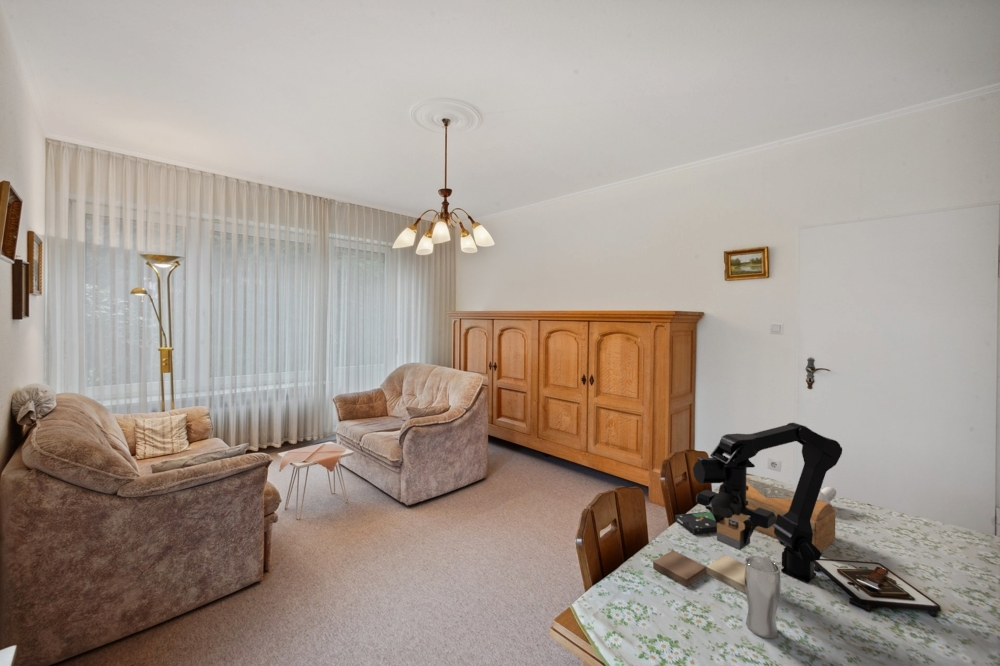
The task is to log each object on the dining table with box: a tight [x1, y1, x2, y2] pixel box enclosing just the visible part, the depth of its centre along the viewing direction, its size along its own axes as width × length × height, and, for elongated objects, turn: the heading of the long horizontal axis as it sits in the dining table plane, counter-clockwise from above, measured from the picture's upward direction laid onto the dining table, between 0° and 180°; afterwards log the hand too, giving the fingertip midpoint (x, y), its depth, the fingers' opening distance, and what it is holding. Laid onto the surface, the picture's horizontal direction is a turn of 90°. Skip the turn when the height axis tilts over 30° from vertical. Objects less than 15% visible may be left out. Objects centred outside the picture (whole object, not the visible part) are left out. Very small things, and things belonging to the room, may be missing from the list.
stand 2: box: [705, 554, 746, 594], centre depth 112 cm, size 10×10×2 cm
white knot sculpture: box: [817, 486, 837, 505], centre depth 153 cm, size 11×12×9 cm
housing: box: [716, 518, 751, 551], centre depth 111 cm, size 6×6×6 cm
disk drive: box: [674, 511, 717, 536], centre depth 140 cm, size 10×3×15 cm
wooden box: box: [718, 477, 837, 553], centre depth 138 cm, size 30×16×14 cm, turn 31°
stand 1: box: [652, 549, 707, 588], centre depth 114 cm, size 10×10×2 cm
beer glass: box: [744, 555, 782, 640], centre depth 92 cm, size 7×7×15 cm
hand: (733, 538), depth 111 cm, fingers closed on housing, 6 cm apart
